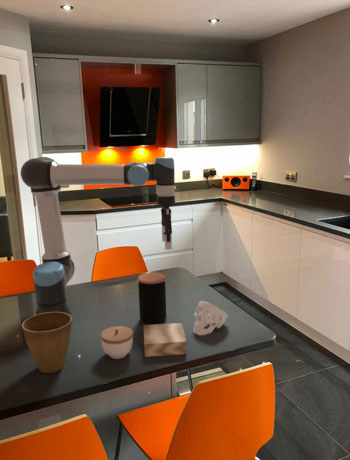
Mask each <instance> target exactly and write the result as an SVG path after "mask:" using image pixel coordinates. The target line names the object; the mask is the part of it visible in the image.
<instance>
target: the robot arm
mask: <svg viewBox="0 0 350 460" xmlns="http://www.w3.org/2000/svg"><path fill="white" fill-rule="evenodd" d="M20 178H21V180H22V182H23V184H24V185H25V186H27V187H29V188H30V193H32V194H33V195H34V196H35V199H36V205H37V210H38V211H37V212H38V217H39V225H40V231H41V238H42V243H43V248H44V253H43V255H41V261H42V262H41V264H37V265H36V266H35V267H34V268H33V271H32V281H33V286H34V287H33V288H34V289H33V290H34V296H35V310H34V315H37V314H41V313H46V312H63V313H67V314H69V315H70V316H71V318H72V321H73V319H74V318H73V317H74V316H73V312H72V310H71V307H70V306H69V303H68V301H67V291H66V290H67V288H66V286H67V284H68V283H69V282H70V281H71V279H72V278H73V276H74V274H75V262H74V260H73V259H72V258H71V252H70V251H69V250H67V248H66V241H65V235H64V230H63V222H62V214H61V208H60V200H59V192H61V189H62V187H61V186H65V185H66V186H71V185H73V186H75V185H76V186H80V185H81V186H83V185H84V186H85V185H86V186H87V185H88V186H89V185H90V186H91V185H92V186H93V185H94V186H97V185H103V186H104V185H108V186H110V185H119V186H121V185H123V186H124V185H128V186H130V185H131V186H135V187H139V186H140V187H141V186H144V185H145V184H146V183H147V182H155V189H156V190H155V191H156V193H155V194H156V195H157V196H156V204H157V206H161V209H160V213H161V214H160V215H161V220H160V221H161V241H162V242H164V249H165V250H166V251H168V250H172V249H173V242H172V241H173V240H172V234H173V229H172V227H173V226H172V209H171V208H170V206H174V205H175V204H176V196H175V193H176V191H175V190H176V189H177V187H176V186H175V160H174V158H173V157H172V156H161V157H160V156H159V157H156V158H155V161H154V162H136V161H135V162H128V163H127V164H69V163H68V164H67V163H66V164H59V163H58V162H57V161H56V160H55V159H54V158H51V157H47V156H39V157H35V158H30V159H28V160H26V161H25V162H24V163H23V164H22V166H21V169H20ZM34 315H33V316H34Z"/></svg>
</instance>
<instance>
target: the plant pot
mask: <svg viewBox="0 0 350 460" xmlns="http://www.w3.org/2000/svg"><path fill="white" fill-rule="evenodd" d="M72 322H73V320H72V318H71V316H70V315H69V314H67V313H63V312H46V313H41V314H37V315H32V316H30V317H28V318H26V319H25V320H24V321H23V322H22V324H21V328H22V331H23V336H24V339H25V342H26V345H27V347H28V350H29V352H30V354H31V357H32V360H33V362H34V363H35V365H36V367H37V368H38V371H40V372H41V373H42V374H52V373H57V372H59V371H60V370H62V369H63V367H64V364H65V361H66V358H67V354H68V349H69V345H70V339H71V332H72Z"/></svg>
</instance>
